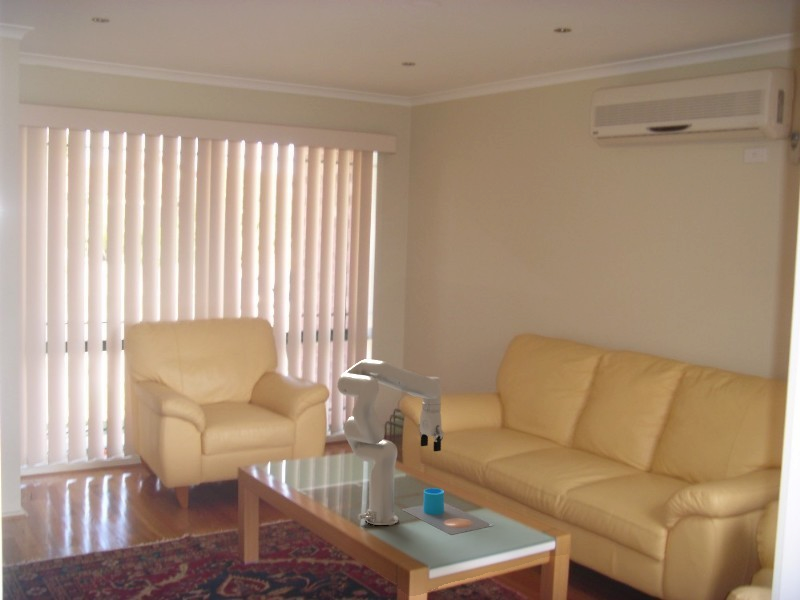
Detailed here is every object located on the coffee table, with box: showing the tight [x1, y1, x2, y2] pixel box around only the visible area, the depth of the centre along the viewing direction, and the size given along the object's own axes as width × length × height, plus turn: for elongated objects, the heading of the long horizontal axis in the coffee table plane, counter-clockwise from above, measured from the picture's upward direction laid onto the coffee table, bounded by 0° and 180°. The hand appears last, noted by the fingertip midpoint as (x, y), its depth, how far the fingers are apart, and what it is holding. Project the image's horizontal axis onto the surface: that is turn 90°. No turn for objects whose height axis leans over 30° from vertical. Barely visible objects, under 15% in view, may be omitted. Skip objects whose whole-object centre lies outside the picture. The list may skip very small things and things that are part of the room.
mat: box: [400, 502, 491, 536], centre depth 334 cm, size 20×34×1 cm, turn 33°
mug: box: [422, 487, 445, 515], centre depth 342 cm, size 12×8×8 cm
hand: (430, 448), depth 351 cm, fingers open, 9 cm apart
